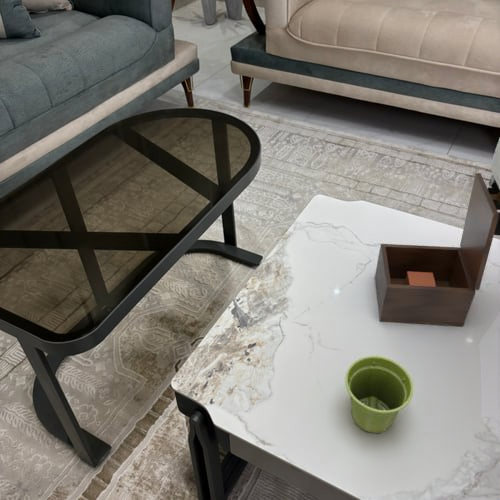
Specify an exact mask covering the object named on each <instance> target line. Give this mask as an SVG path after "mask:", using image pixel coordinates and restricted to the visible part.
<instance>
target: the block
mask: <svg viewBox="0 0 500 500" xmlns="http://www.w3.org/2000/svg"><path fill="white" fill-rule="evenodd" d="M404 285H414V286H432V287H436V284H435V280H434V276H433V273H429V272H410V271H407V275H406V279H405V283H404Z"/></svg>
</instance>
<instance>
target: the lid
mask: <svg viewBox="0 0 500 500" xmlns="http://www.w3.org/2000/svg"><path fill="white" fill-rule="evenodd" d="M474 174H475V175H474V178H473V183H472V188H471V192H470V197H469V202H468V207H467V211H466V216H465V221H464V225H463V229H462V234H461V239H460V244H459V247H461V250H462V253H463V256H464V259H465V263H466V266H467V269H468V272H469V275H470V278H471V281H472V284H473V287H474V290H475V291H479V290H480V288H481V284H482V281H483V277H484V274H485V270H486V266H487V262H488V259H489V256H490V255H489V254H490V250H491V248H492V244H493V239H494V236H495V235H494V232H495V229H496V225H497V221H498V217H499V213H500V211H499V210H497V209H496V207H495V205H494V202H493V200H498V202H499V204H500V192H498V193H497V194H490V193H489V191H488V186H487V184H486V182H485V180H484V177H483V175H482V174H481V172H476V173H474Z"/></svg>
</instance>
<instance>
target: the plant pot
mask: <svg viewBox="0 0 500 500" xmlns="http://www.w3.org/2000/svg"><path fill="white" fill-rule="evenodd" d="M344 381H345V388H346V390H347V393H348V394H349V396H350V409H351V417H352V420H353V422H354V424H356V426H357V427H358V428H360V429H361V430H363V431H364V432H368V433H369V432H370V433H373V434H381V433H384V432H386V431H387V430H388V429H389V428H390V427H391V426H392V424H393V422H394V421H395V419H396V417H397V415H398V413H400V411H401V410H403V409H405V408H406V407H407V406H408V405H409V404H410V402H411V400H412V398H413V395H414V383H413V380H412V377H411V375H410V374H409V372H408V371H407V370H406V368H404V367H403V366H402V365H400V364H399V363H398V362H396V361H395V360H393V359H391V358H389V357H385V356H380V355H369V356H368V355H367V356H364V357H361V358H358V359H357V360H355V361H354V362H353V363H351V364H350V365H349V367H348V369H347V370H346V373H345V377H344ZM363 402H364V403H363Z"/></svg>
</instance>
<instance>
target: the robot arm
mask: <svg viewBox="0 0 500 500" xmlns="http://www.w3.org/2000/svg"><path fill="white" fill-rule="evenodd" d="M490 170H491V173H492V176H491V177H490V179H489V180H488V186H487V189H488V191H489V193H490V194H497V193H498V192H500V138H499V139H498V141H497V143H496V147H495V149H494V153H493V156H492V160H491V164H490ZM493 202H494V205H495V207H496V209H497V211H500V204H499V202H498V200H493ZM494 236H500V213H499V217H498V221H497V225H496V229H495V232H494Z"/></svg>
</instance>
